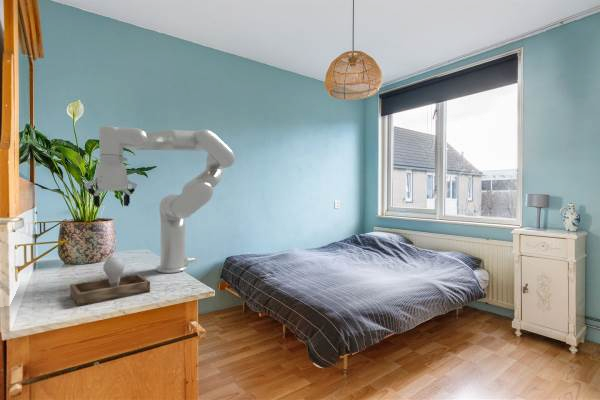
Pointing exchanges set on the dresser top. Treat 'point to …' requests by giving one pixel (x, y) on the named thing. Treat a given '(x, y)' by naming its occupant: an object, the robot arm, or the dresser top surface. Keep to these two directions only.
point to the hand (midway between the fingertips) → (112, 206)
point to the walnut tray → (108, 289)
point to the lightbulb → (114, 270)
